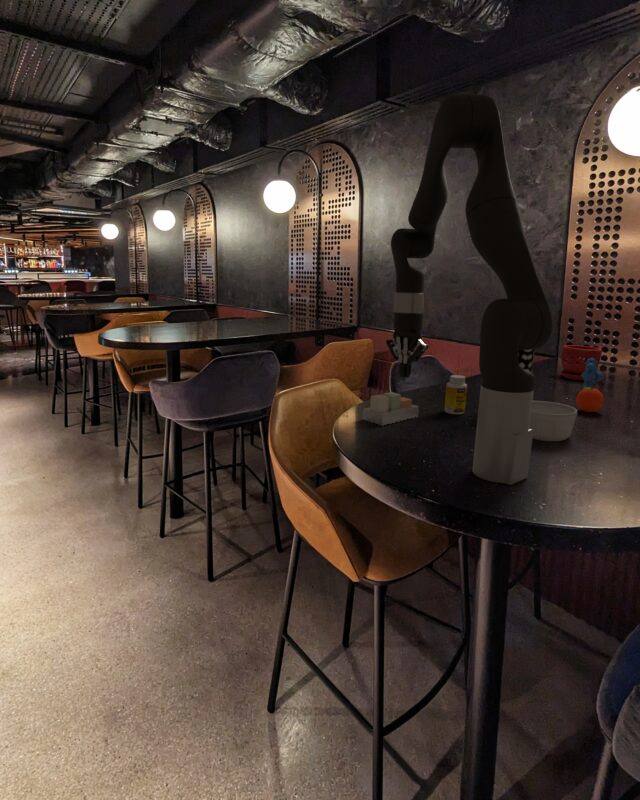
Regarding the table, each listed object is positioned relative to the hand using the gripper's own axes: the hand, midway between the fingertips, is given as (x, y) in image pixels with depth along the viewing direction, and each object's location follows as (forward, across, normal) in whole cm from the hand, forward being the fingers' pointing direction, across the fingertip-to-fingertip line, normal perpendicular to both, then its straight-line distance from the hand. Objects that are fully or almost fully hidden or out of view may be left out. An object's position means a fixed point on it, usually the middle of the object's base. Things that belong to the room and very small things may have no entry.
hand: (404, 377), depth 133 cm
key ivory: (+8, 0, -9) cm, 12 cm away
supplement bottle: (+11, +6, +14) cm, 19 cm away
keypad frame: (+11, 0, -4) cm, 12 cm away
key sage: (+8, 0, -5) cm, 9 cm away
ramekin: (+11, +31, +16) cm, 37 cm away
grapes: (+11, +19, +70) cm, 74 cm away
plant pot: (+11, +5, +94) cm, 94 cm away
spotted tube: (+11, +15, +28) cm, 34 cm away
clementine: (+11, +28, +47) cm, 56 cm away
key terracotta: (+10, 0, 0) cm, 10 cm away
